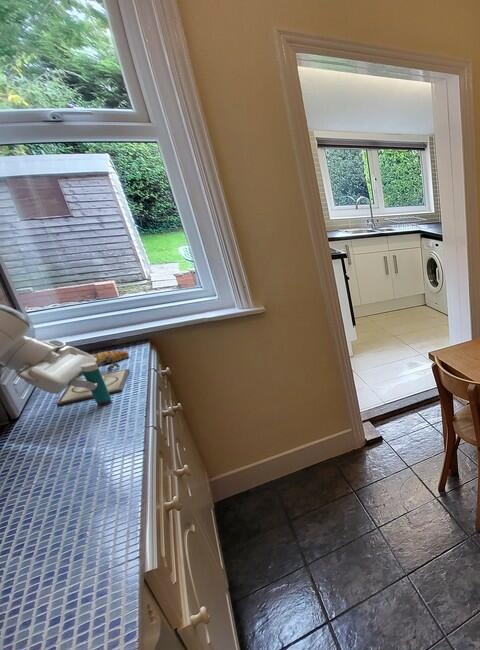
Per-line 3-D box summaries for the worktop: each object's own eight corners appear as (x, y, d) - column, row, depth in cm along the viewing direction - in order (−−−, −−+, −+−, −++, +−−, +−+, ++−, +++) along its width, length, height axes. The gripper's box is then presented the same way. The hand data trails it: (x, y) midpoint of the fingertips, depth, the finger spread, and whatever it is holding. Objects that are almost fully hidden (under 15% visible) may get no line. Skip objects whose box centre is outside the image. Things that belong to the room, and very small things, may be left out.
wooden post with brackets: (120, 366, 140) (108, 355, 138) (98, 378, 140) (86, 368, 138) (123, 364, 142) (111, 354, 140) (102, 376, 141) (90, 366, 139)
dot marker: (94, 405, 116) (76, 366, 111) (106, 400, 119) (89, 362, 114) (103, 406, 115) (86, 367, 111) (115, 401, 118) (99, 362, 114)
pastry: (128, 354, 153) (123, 345, 152) (131, 359, 149) (126, 349, 148) (94, 362, 147) (89, 352, 146) (96, 367, 143) (91, 357, 141)
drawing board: (57, 406, 117) (56, 403, 116) (73, 382, 132) (71, 379, 131) (121, 391, 124) (120, 388, 123) (129, 370, 139) (128, 368, 138)
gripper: (18, 362, 99) (89, 389, 106) (62, 337, 116) (120, 362, 123) (3, 383, 99) (75, 409, 106) (49, 355, 116) (108, 379, 123)
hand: (99, 383), depth 115 cm, fingers closed on dot marker, 3 cm apart
